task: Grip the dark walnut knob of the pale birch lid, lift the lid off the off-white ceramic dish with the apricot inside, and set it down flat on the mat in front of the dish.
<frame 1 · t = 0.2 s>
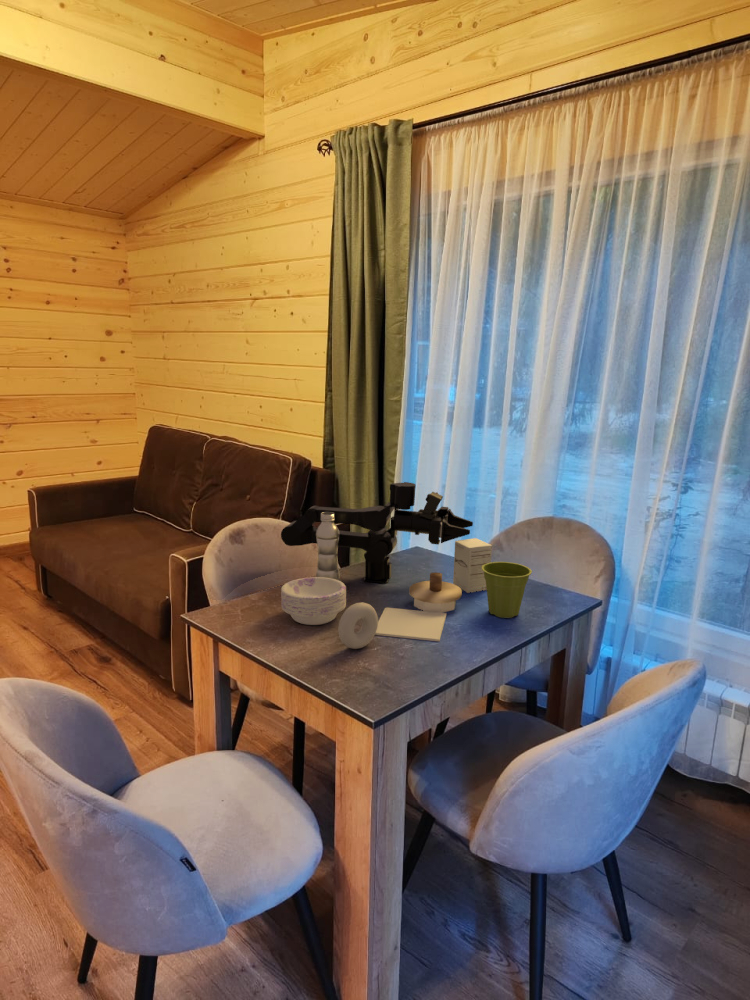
hand: (471, 527, 168), 17 cm above the table, tool horizontal, fingers open, 9 cm apart
dish: (434, 604, 160), on the table
plastic bottle: (327, 585, 172), on the table
supplement box: (471, 587, 172), on the table
mat: (410, 624, 148), on the table
donut: (358, 648, 136), on the table
lid: (435, 593, 159), point 3 cm above the table, touching dish
plant pot: (503, 613, 155), on the table
paper bowls: (313, 618, 151), on the table
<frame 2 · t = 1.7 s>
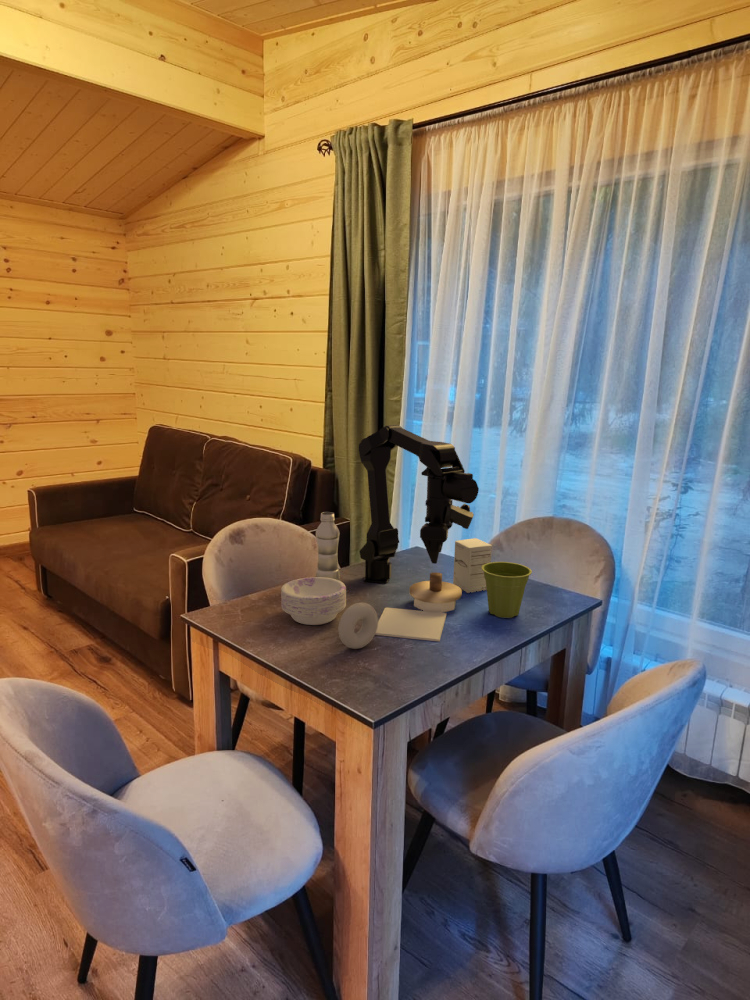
hand: (436, 557, 157), 12 cm above the table, tool pointing down, fingers open, 9 cm apart
nothing on the table moved.
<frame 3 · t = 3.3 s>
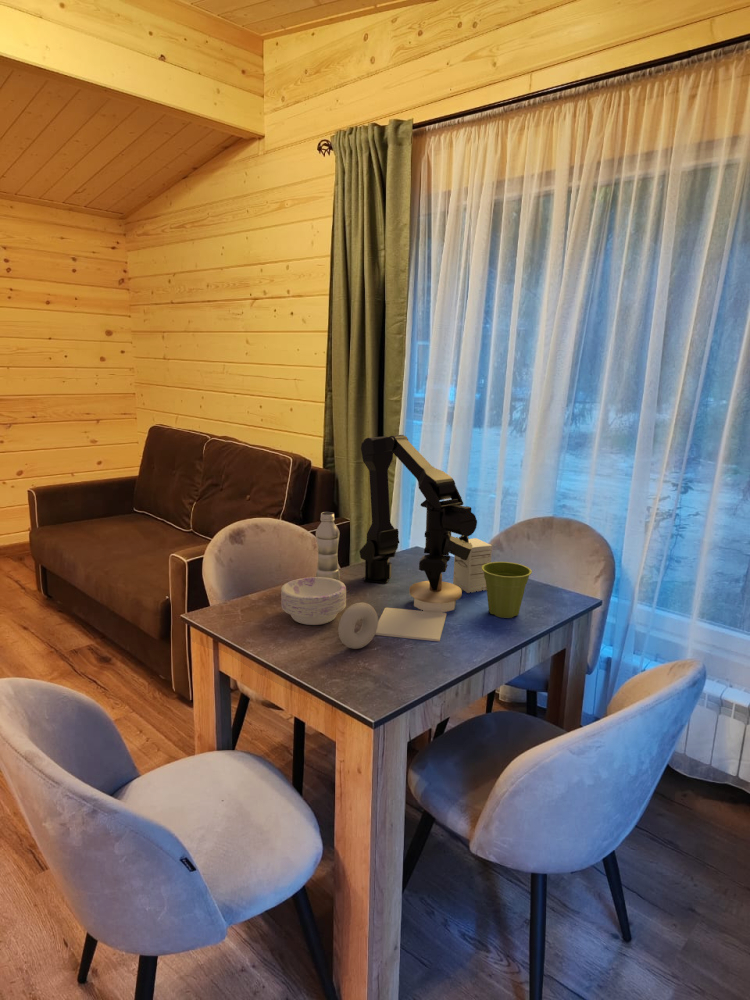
hand: (435, 587, 159), 5 cm above the table, tool pointing down, fingers closed on lid, 3 cm apart
lid: (435, 593, 159), point 3 cm above the table, touching dish, gripper
everything else where it was.
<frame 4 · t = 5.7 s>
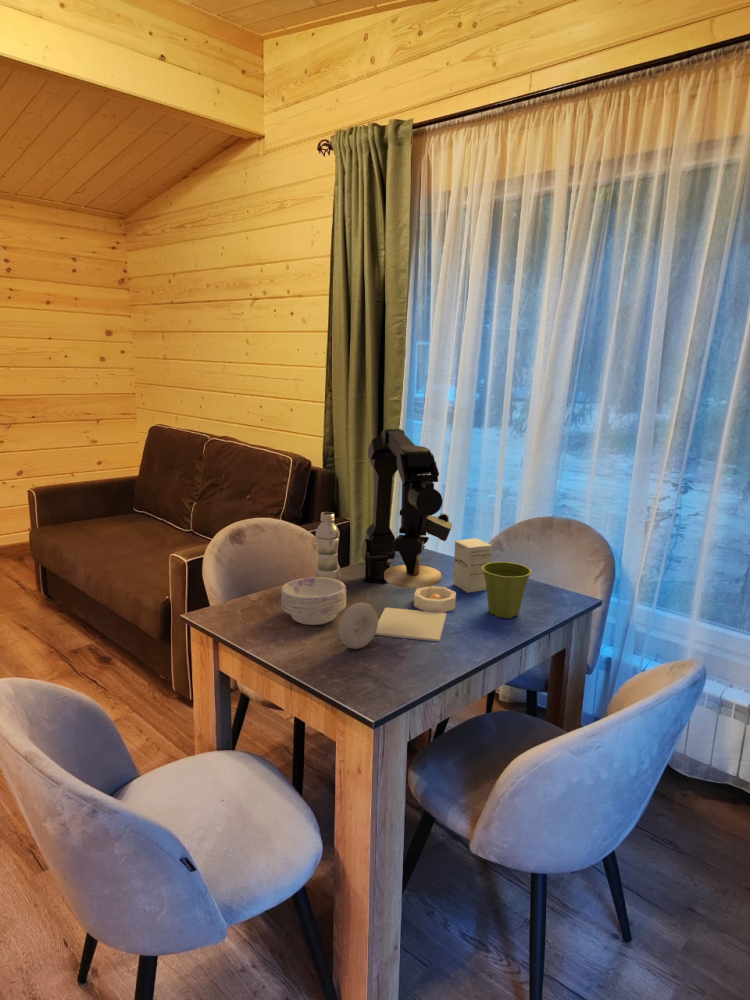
hand: (412, 571, 145), 13 cm above the table, tool pointing down, fingers closed on lid, 3 cm apart
lid: (412, 577, 145), point 11 cm above the table, touching gripper
everything else where it was.
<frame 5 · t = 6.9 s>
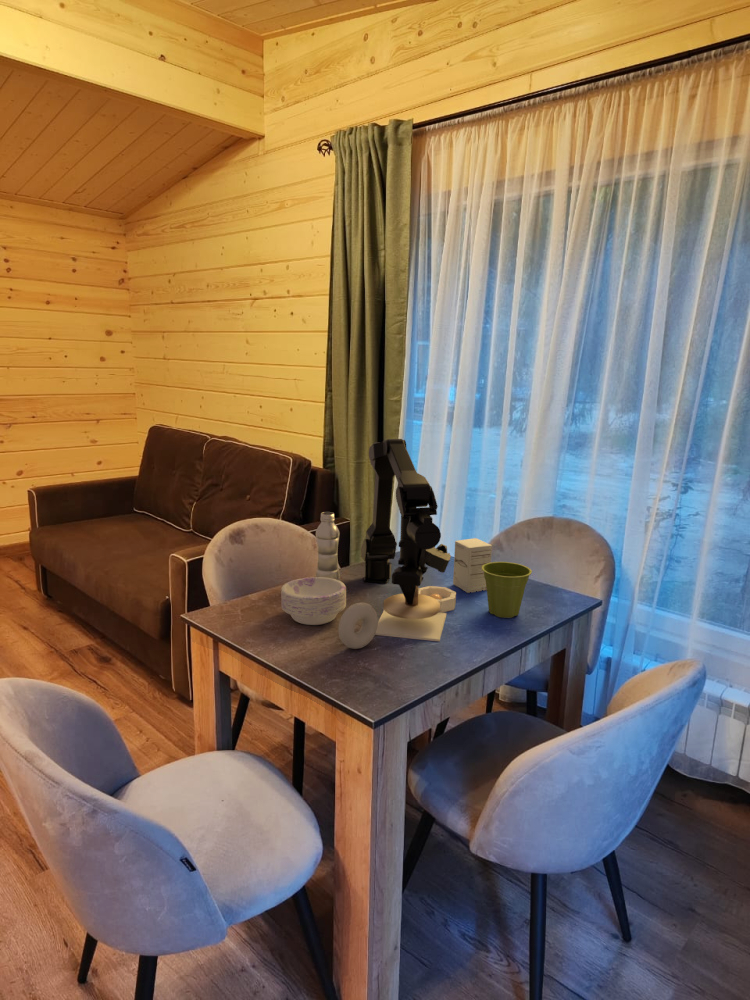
hand: (411, 601, 146), 6 cm above the table, tool pointing down, fingers closed on lid, 3 cm apart
lid: (411, 607, 147), point 4 cm above the table, touching gripper
everything else where it was.
when the fingers open (3 cm above the table, at t = 8.0 s): lid drops 1 cm, resting on mat.
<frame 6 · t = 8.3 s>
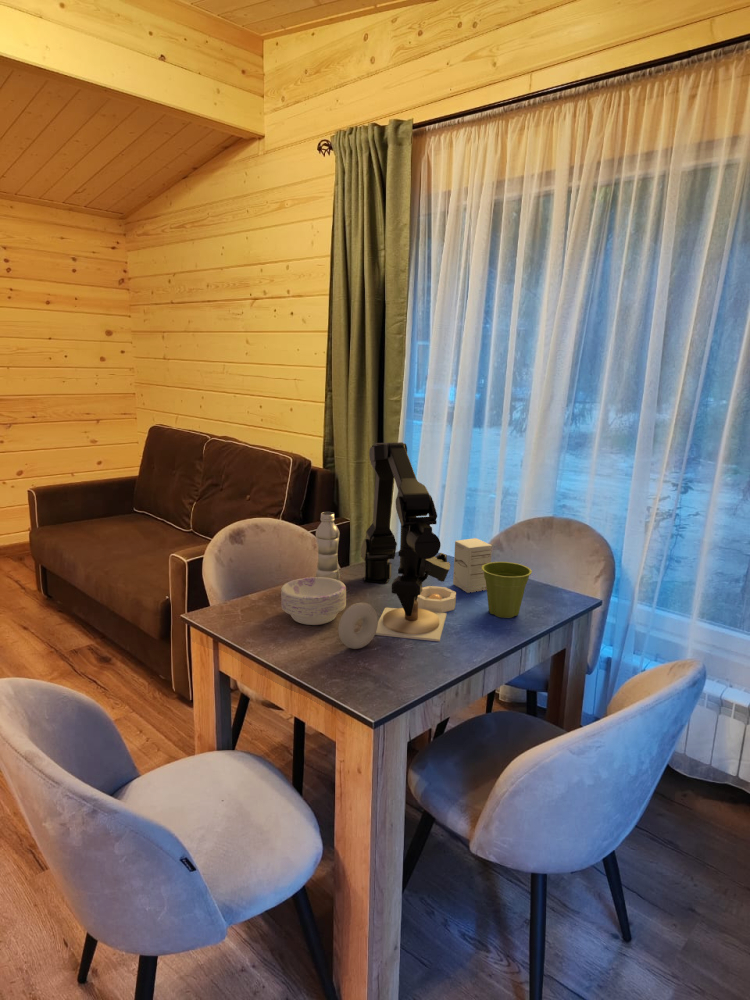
hand: (411, 610, 147), 3 cm above the table, tool pointing down, fingers open, 6 cm apart
lid: (411, 622, 147), resting on mat
everything else where it was.
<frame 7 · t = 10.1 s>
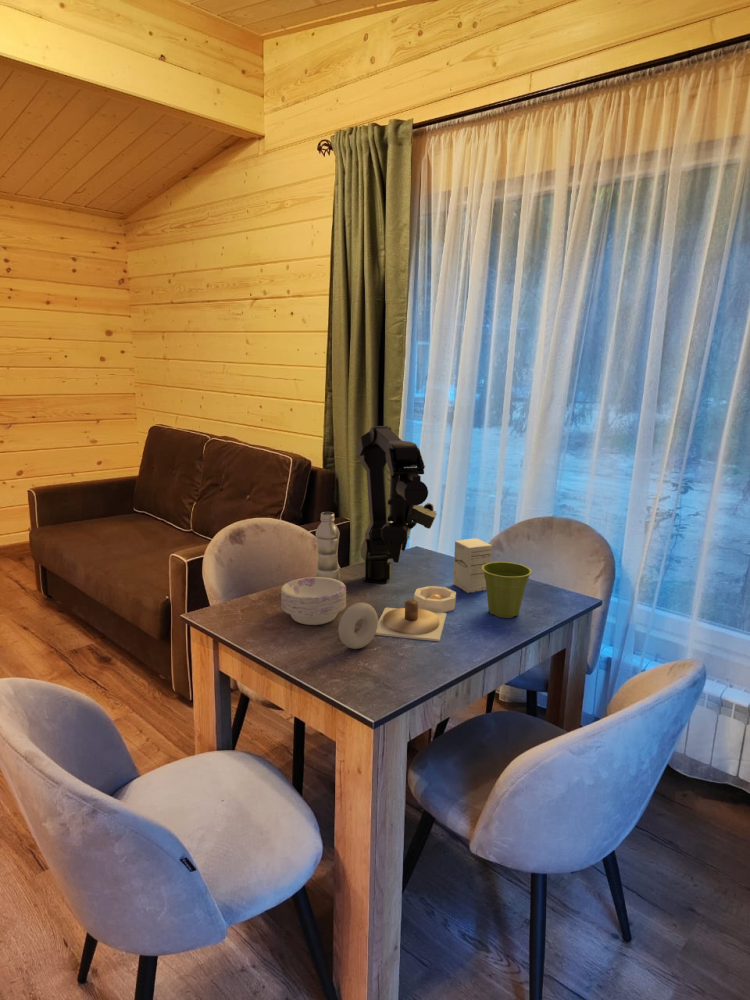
hand: (399, 556, 157), 12 cm above the table, tool pointing down, fingers open, 9 cm apart
nothing on the table moved.
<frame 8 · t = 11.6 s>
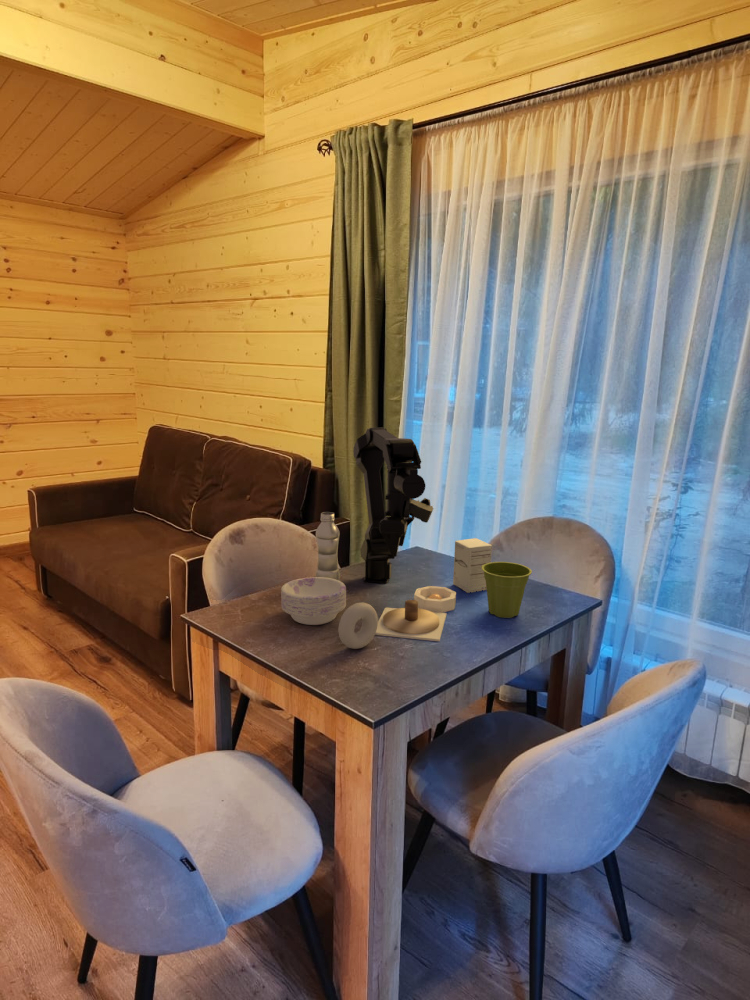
hand: (397, 550, 160), 13 cm above the table, tool pointing down, fingers open, 9 cm apart
nothing on the table moved.
at the end: lid inside the target area on the mat (0.1 cm from its centre), point 0.5 cm above the mat's base; lid tilted 0°; the gripper is holding nothing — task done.
